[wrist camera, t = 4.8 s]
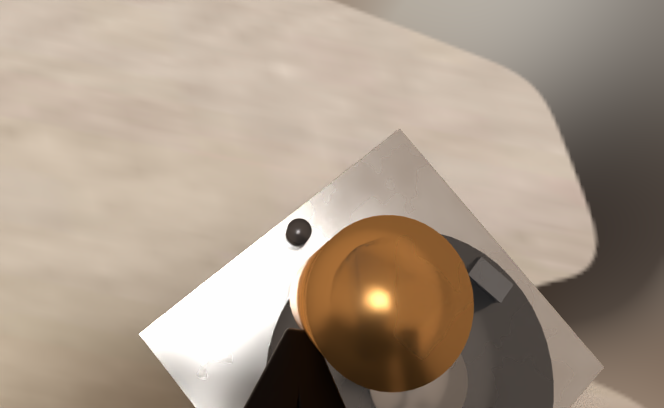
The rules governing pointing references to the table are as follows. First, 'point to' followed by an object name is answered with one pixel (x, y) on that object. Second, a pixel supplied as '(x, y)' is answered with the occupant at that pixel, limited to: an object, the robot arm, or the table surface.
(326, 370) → the robot arm
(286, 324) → the metal joystick
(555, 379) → the flange plate
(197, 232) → the table surface
